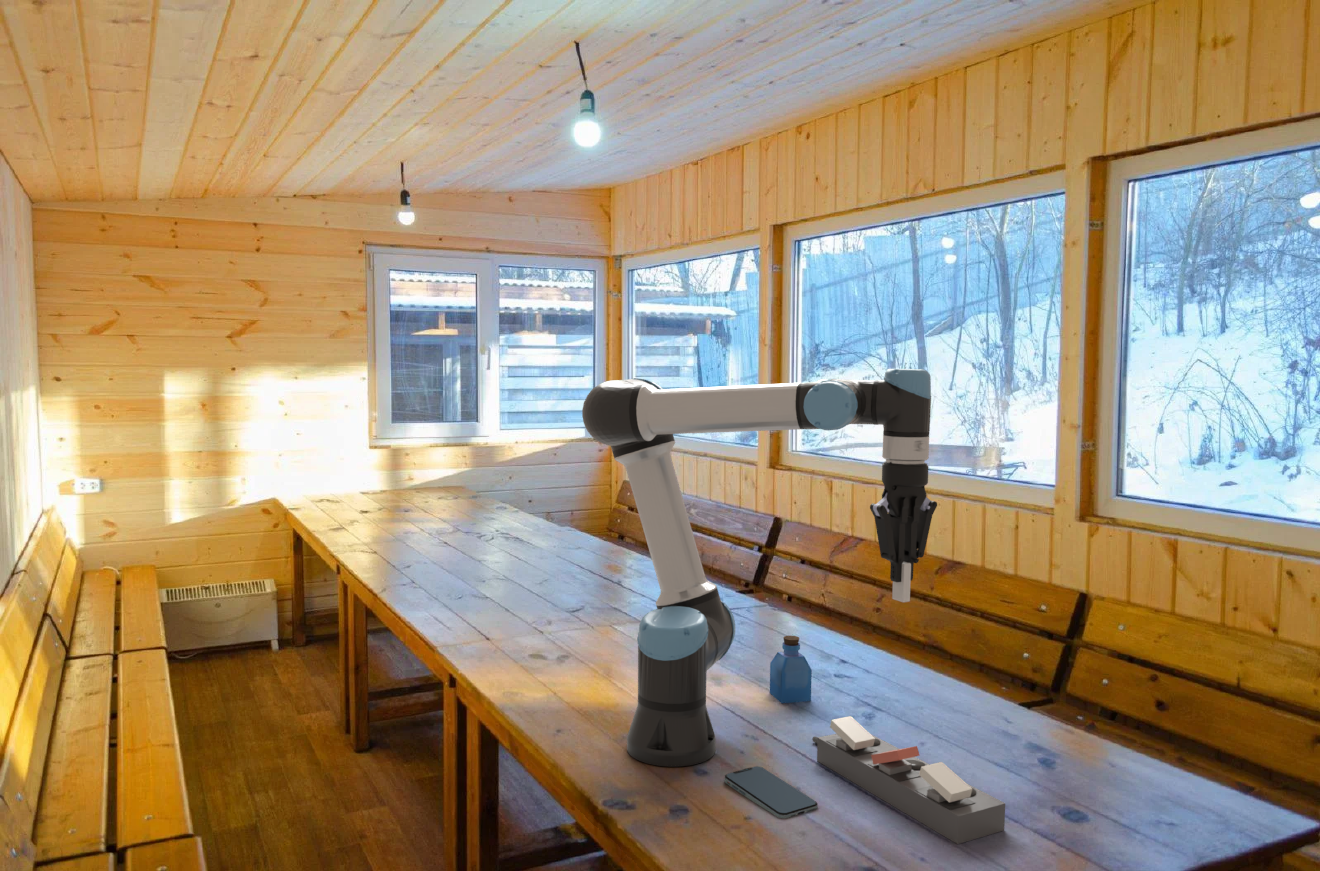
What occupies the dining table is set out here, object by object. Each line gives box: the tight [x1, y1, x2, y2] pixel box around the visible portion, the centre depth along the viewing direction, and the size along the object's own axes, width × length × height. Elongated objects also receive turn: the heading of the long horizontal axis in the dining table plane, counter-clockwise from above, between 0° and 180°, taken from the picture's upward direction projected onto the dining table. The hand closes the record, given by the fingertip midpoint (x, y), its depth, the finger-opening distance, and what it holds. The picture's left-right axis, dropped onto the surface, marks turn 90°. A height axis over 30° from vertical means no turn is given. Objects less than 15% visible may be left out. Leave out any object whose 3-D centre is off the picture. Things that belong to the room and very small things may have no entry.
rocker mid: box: [871, 745, 921, 764], centre depth 154 cm, size 6×4×1 cm, turn 28°
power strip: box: [812, 733, 1006, 845], centre depth 158 cm, size 39×9×5 cm, turn 28°
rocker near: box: [919, 761, 972, 803], centre depth 144 cm, size 6×4×1 cm, turn 28°
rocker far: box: [829, 715, 875, 750], centre depth 163 cm, size 6×4×1 cm, turn 28°
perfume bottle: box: [769, 635, 813, 704], centre depth 198 cm, size 6×6×12 cm
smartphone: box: [724, 765, 818, 819], centre depth 154 cm, size 8×2×15 cm
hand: (901, 600), depth 169 cm, fingers closed
